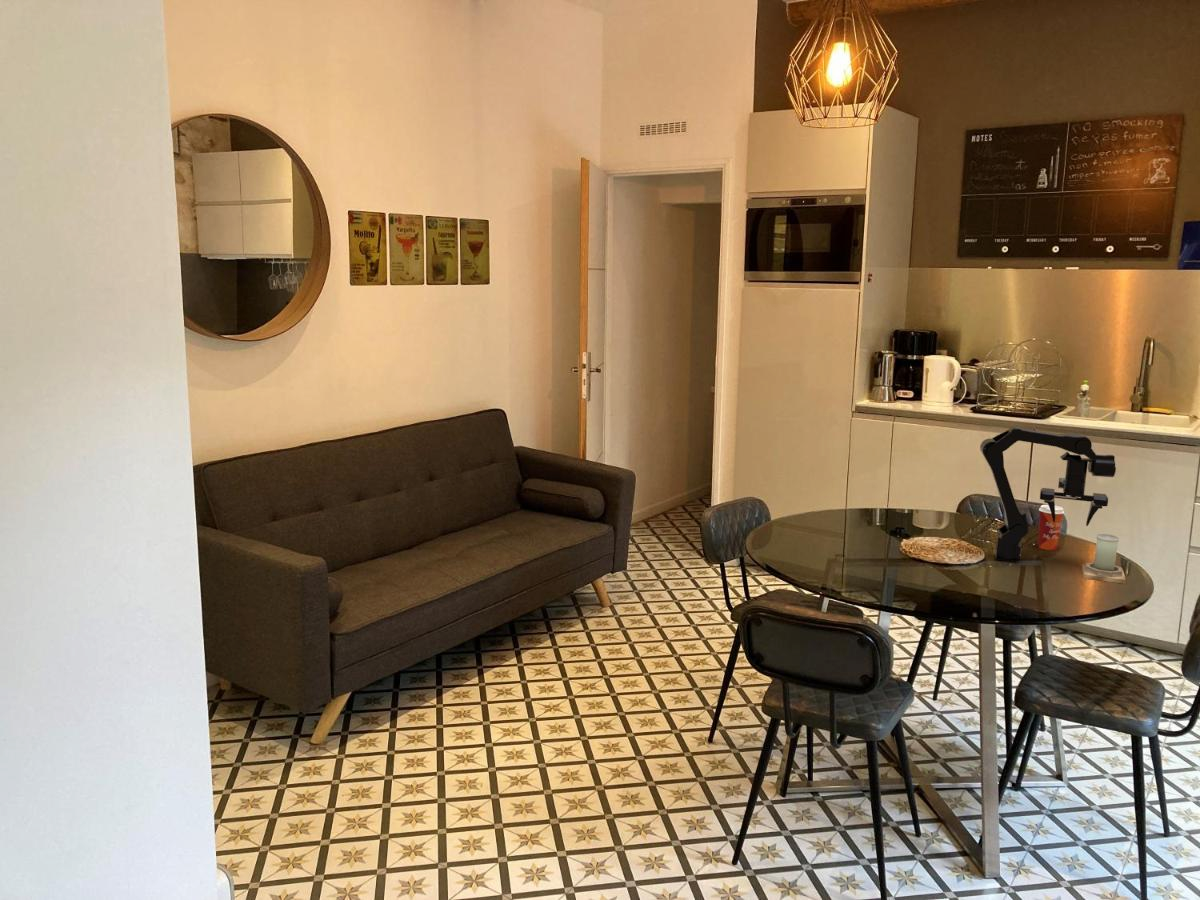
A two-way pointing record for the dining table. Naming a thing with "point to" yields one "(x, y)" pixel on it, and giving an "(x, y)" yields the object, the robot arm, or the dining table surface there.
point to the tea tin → (1105, 552)
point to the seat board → (1103, 574)
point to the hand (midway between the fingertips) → (1070, 523)
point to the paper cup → (1049, 527)
